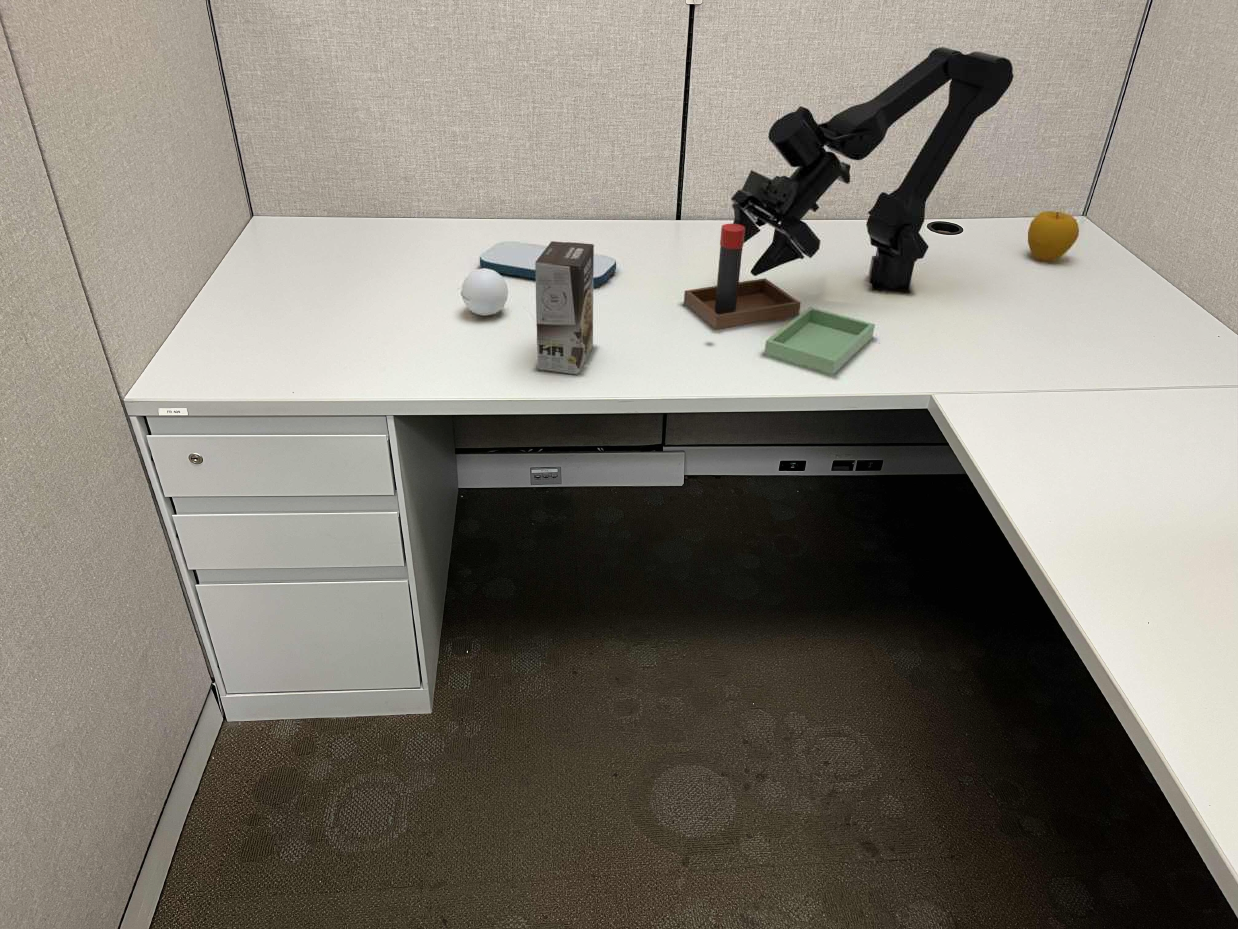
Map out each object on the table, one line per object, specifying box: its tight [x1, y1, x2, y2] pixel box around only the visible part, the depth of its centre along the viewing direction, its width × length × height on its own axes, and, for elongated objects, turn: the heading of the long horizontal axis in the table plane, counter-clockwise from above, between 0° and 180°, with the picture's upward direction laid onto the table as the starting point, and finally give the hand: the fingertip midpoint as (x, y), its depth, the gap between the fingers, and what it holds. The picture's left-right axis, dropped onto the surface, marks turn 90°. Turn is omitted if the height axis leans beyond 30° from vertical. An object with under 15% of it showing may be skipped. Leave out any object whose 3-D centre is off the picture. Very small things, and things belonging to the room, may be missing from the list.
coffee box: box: [535, 240, 595, 375], centre depth 123 cm, size 9×6×16 cm
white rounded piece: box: [458, 267, 509, 317], centre depth 139 cm, size 10×7×7 cm
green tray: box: [763, 306, 876, 376], centre depth 132 cm, size 15×11×2 cm
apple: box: [1027, 210, 1080, 263], centre depth 164 cm, size 9×8×9 cm
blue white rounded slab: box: [479, 241, 617, 287], centre depth 156 cm, size 24×12×2 cm, turn 70°
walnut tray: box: [683, 277, 802, 331], centre depth 143 cm, size 15×11×2 cm
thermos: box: [715, 223, 745, 315], centre depth 138 cm, size 4×4×14 cm
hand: (737, 263), depth 138 cm, fingers open, 9 cm apart
